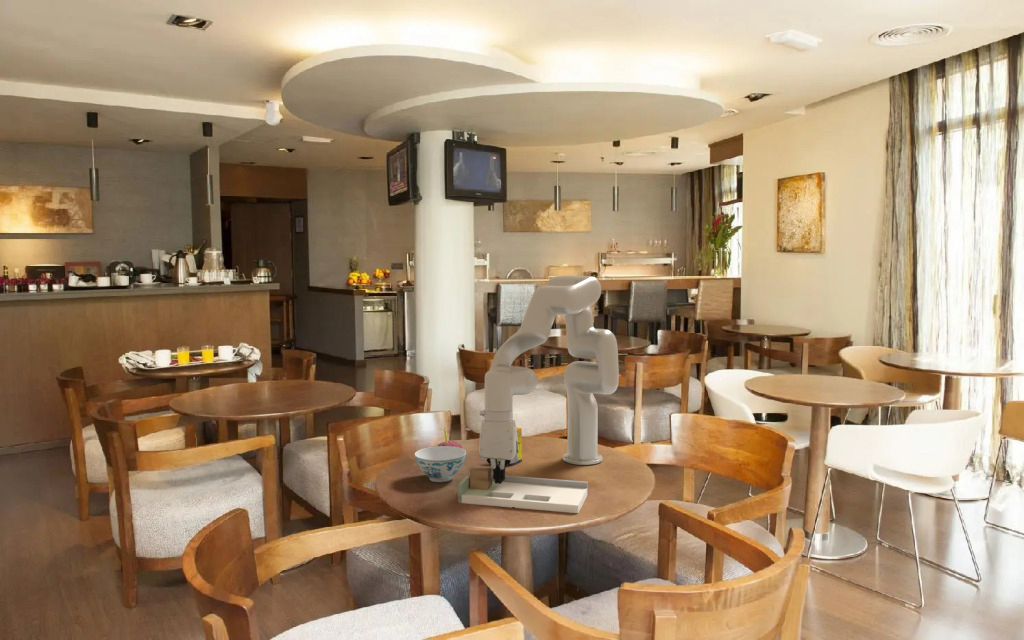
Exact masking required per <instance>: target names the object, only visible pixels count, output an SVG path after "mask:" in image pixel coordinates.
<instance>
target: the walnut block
mask: <svg viewBox="0 0 1024 640" xmlns="http://www.w3.org/2000/svg"><path fill="white" fill-rule="evenodd" d="M469 474H470V489H479V490H488V489H489V488H490V487H491V485H492V474H493V469H492V467H491V465H490V466H485V465H474V466H473V467H472V468H471V469H470V470H469Z"/></svg>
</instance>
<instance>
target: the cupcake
mask: <svg viewBox="0 0 1024 640" xmlns="http://www.w3.org/2000/svg"><path fill="white" fill-rule="evenodd" d="M443 431H444V440H445V441H442V442H440V443H438V445H437V446H451V447H458V448H461V449H463V446H462V444H460V443H458V442H457V441H453V440H448V433H447V429H446V428H445V427H444V429H443Z"/></svg>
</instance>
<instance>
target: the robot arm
mask: <svg viewBox="0 0 1024 640" xmlns="http://www.w3.org/2000/svg"><path fill="white" fill-rule="evenodd" d="M601 294H602V285H601V282H600V281H599V280H598V278H596V277H595V276H590V275H557V276H556V275H555V276H553V277H551V278H550V279H549V280H548V281H547V284H546V285H542V286H539V287H537V288H536V289H535V290H534V291H533V293H532V296H531V298H530V301H529V304H528V306H527V308H526V311H525V313H524V316H523V318H522V321H521V325H520V326H519V328H518V330H517V331H516V332H515V333H514V334H511V335H510V337H509V338H507V340H505V341H504V343H503V344H502V345H501V346H500V347H499V348H498V349H497V350H496V352H495V355H494V356H493V359H492V361H491V365H490V367H489V370H488V371H486V373H485V374H484V410H480V411H479V416H481V417H483V420H481V424H480V429H479V431H480V432H479V440H478V442H479V443H478V455H479V460H481V461H483V462H486V463H488V465H490V467H492V474H493V479H495V484H497V483H499V484H501V483H502V482H503V480H505V475H506V467H508V466H509V465H508V464H510V463H516V462H517V461H518V460H519V459H518V455H517V454H518V437H517V429H516V427H517V425H516V420H514V419H513V417H514V416H513V415H514V414H513V413H514V411H513V409H514V408H513V407H514V406H513V401H514V400H513V399H514V398H513V396H519V395H520V396H522V395H523V396H524V395H525V396H526V395H528V394H530V393H532V392H534V390H535V389H536V388H537V385H538V375H537V374H536V372H535V371H534V370H532V368H529V367H526V366H525V367H522V366H516V365H512V364H513V362H514V361H515V360H516V359H517V358H518V357H519V356H520V355H521V354H523V353H525V352H528V350H531V349H534V348H536V347H538V346H541V345H543V344H545V343H546V342H547V341H548V338H549V335H550V332H551V330H552V327H553V325H554V322H555V319H556V317H557V316H564V319H565V334H566V346H567V351H568V353H569V355H570V356H571V357H573V358H579V359H587V360H596V362H594V361H585V360H584V361H583V360H582V361H580V360H579V361H577V360H576V361H572V362H571V363H569V364H567V366H566V367H565V370H564V373H563V378H564V385H565V390H566V396H567V397H566V398H567V401H566V402H567V452H566V453H564V454H563V455H562V460H563V461H564V462H566V463H568V464H571V465H578V466H588V465H589V466H591V465H596V464H599V463H601V462H603V456H602V454H600V453H598V436H599V435H598V430H599V429H598V427H599V426H598V425H599V424H598V423H599V422H598V414H599V413H598V411H599V410H598V402H597V400H596V398H595V395H594V394H599V395H612V394H614V393H615V392H616V391H617V389H618V387H619V384H620V383H619V382H620V381H619V380H620V370H619V353H618V352H619V350H618V340H617V338H616V336H615V334H614V332H612V331H610V330H609V329H605V328H595V327H594V321H593V311H592V309H591V306H593V305H595V304H596V303H597V302H598V300H599V299H600V297H601ZM498 459H501V462H500V463H498Z"/></svg>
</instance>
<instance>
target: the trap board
mask: <svg viewBox="0 0 1024 640" xmlns="http://www.w3.org/2000/svg"><path fill="white" fill-rule="evenodd" d="M588 493H589V482H588V481H583V480H572V479H571V480H569V479H559V478H558V479H556V478H545V477H531V476H530V477H529V476H528V477H527V476H517V475H516V476H515V475H506V474H505V480H503V482H502V483H501V484H499V483H497V484H495V479H493V473H492V485H491V487H490V488H489V489H488V490H479V489H470V473H469V474H467V475H466V476H465V477H464V478H463V479H462V480H461V481H460V482H459V483H458V484H457V503H458V504H466V505H467V504H468V505H478V506H479V505H481V506H489V507H490V506H492V507H502V508H512V507H515V508H514V509H523V510H535V511H536V510H538V511H547V512H549V511H550V512H557V513H558V512H559V513H568V514H569V513H570V514H579V513H580V511H581V509H582V507H583V505H584V503H585V501H586V499H587V498H588V496H589V495H588Z"/></svg>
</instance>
